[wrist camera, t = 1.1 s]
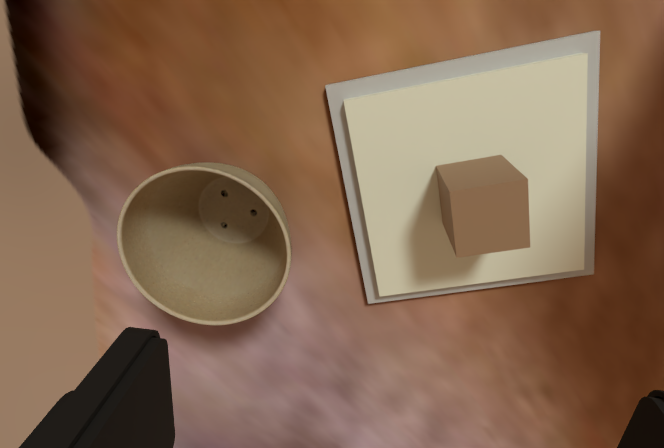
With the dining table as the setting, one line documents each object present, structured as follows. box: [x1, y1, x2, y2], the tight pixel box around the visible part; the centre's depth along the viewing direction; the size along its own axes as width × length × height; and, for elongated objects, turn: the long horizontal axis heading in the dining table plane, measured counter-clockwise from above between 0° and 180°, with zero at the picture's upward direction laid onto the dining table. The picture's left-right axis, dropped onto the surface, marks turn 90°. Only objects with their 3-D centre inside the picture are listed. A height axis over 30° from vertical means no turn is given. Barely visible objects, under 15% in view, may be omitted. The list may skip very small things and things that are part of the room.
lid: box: [344, 53, 588, 297], centre depth 27 cm, size 14×14×6 cm
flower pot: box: [117, 163, 291, 325], centre depth 29 cm, size 10×10×7 cm
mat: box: [325, 31, 600, 304], centre depth 30 cm, size 16×16×1 cm
